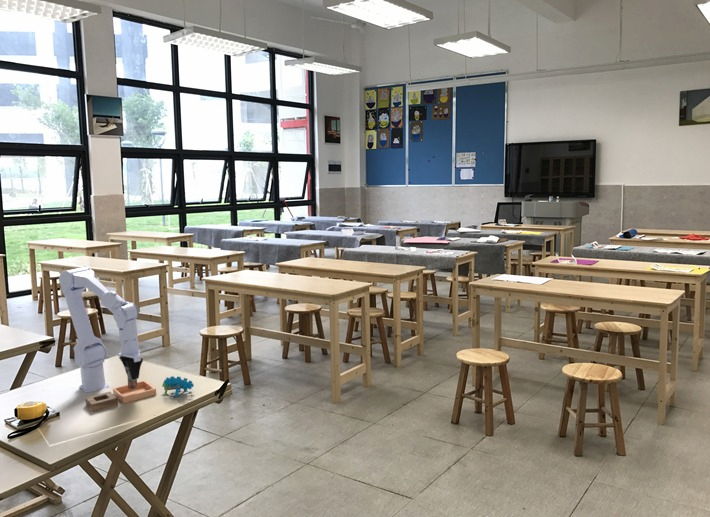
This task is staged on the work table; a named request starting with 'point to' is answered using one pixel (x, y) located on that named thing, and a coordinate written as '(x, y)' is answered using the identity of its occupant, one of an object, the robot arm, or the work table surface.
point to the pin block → (101, 401)
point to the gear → (176, 384)
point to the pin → (131, 383)
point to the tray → (134, 392)
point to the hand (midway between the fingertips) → (133, 377)
